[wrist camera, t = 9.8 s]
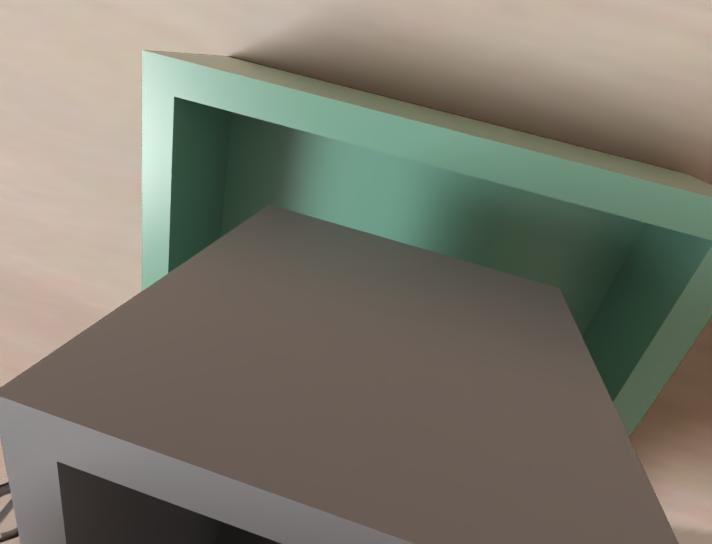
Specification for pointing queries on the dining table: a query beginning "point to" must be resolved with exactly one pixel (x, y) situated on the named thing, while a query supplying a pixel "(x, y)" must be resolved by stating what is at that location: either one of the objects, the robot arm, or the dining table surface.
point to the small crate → (325, 407)
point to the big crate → (433, 200)
